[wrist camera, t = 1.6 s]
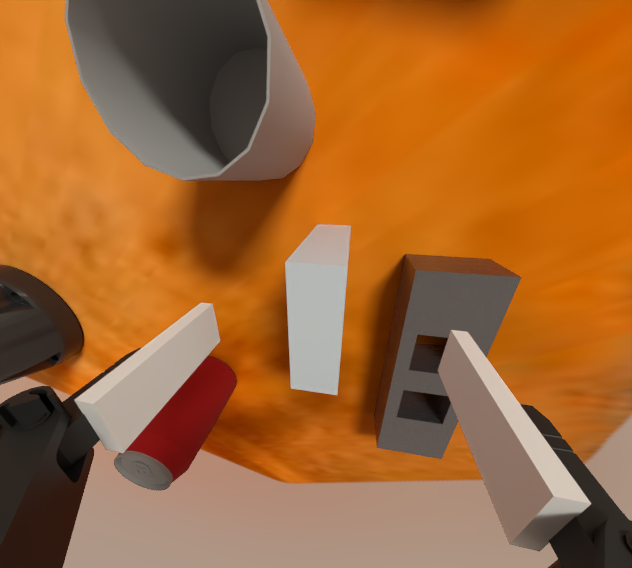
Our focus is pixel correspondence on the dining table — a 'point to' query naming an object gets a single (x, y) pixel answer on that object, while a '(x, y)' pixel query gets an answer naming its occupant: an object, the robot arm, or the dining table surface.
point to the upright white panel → (317, 307)
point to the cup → (195, 85)
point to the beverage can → (178, 428)
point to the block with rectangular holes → (423, 360)
